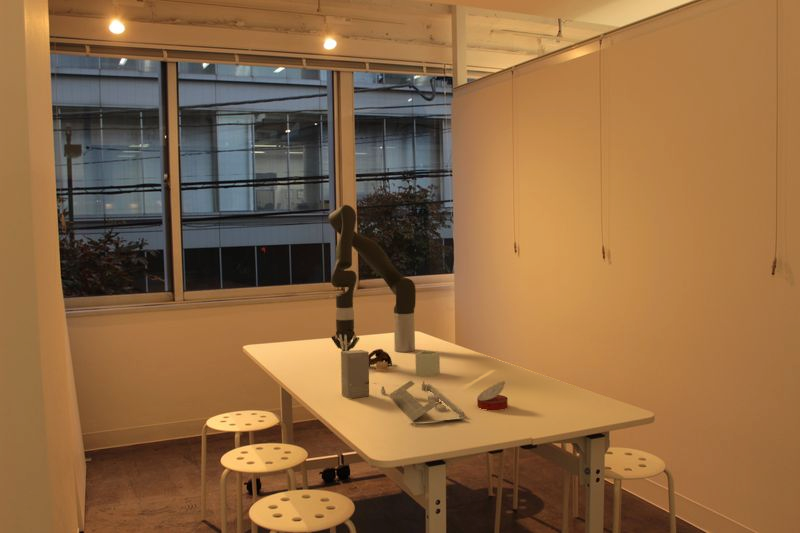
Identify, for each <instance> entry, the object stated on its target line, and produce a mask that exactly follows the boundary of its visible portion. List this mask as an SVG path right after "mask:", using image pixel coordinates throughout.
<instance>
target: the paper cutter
mask: <svg viewBox="0 0 800 533" xmlns="http://www.w3.org/2000/svg"><path fill="white" fill-rule="evenodd" d="M415 384H416V383H415V382H414V381H412V380H409V381H407V382H406V383H404V384H403V385H401V386H400V387H398V388H397V389H395V390H394V391H393V392H391V393H389V394H388V396H389V397H390V398H391V399H392V400H393V402H395V403H396V405H398V407H399V408H400V409H401V410H402V411H403V412H404V413H405V414H406V416H408V417H409V418H410V419H411V421H412V422H414V424H431V423H432V424H433V423H438V422H446V421H445V420H446V419H442V420H428V421H417V419H418V418H420V417H422V416H424V415H425V414H427V413H428V412H429V411H431V410H432V409H434V410H435V411H437V412H438V411H441V412H447V408H446V406H444V405H442V404H439V403H440V402H439V399H440V400H441V401H443V402H444V403H445V404H446V405H447V406H449V407H450V408H451V409H452V411H453V413H455V412H456V413H457V414H458V415H459V417H458V418H459V419H458V418H453V419H450V421H455V420H457V419H458V420H464V419H466V416H465V410H462V408H460V407H459V406H458V405H456V404H455V403H454V402H453V401H452V400H450V399H449V398H447V397H446V396H445V395H444V394H442V393H441V392H440V391H439V390H438V389H437V388H435V387H434V386H433V385H431V384H430V383H429V384H428V383H425V381H422V383H421V391H422V390H425V391H424V392H426V391H430V392H432V393H433V394H434V395H430V394H428V395H427V402H428V401H429V402H428V403H426V404H425V405H423V404H422V403H420V402H419V401H418V400H417V399H416V398H415V397H414V396H413V395H412V394H411V393H410V392H409V391H408V389H410V388H411V387H413V386H414V385H415ZM381 393H382V394H385V395H386V389H385V386H383V385H382V386H381V389H380V394H381ZM382 394H381V395H382ZM436 402H439V403H436ZM456 413H455V414H456ZM457 414H456V415H457ZM458 415H457V416H458ZM415 421H417V422H415Z"/></svg>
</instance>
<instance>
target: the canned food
mask: <svg viewBox="0 0 800 533" xmlns="http://www.w3.org/2000/svg"><path fill="white" fill-rule="evenodd" d="M505 384H506V382H505V381H500V382H499V381H498V382H497V383H496V384H494V385H491V386H490V387H488V388H486V389H484V390H483V391H482V392H480V393H479V395H478V396H477V398H476V399H477V400H476V401H477V402H476V403H477V406H478V407H479V408H481V409H480V410H482V409H487V410H486V411H488V410H498V411H500V410H499V409H504V410H506V409H508V408H507V407H509V405H508V404H509V403H508V397H507V396H505V395H502V394H501V393H502V391H503V389H504V388H505ZM478 407H477V408H478ZM479 408H478V409H479ZM505 408H506V409H505Z"/></svg>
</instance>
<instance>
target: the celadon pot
mask: <svg viewBox="0 0 800 533" xmlns="http://www.w3.org/2000/svg"><path fill="white" fill-rule="evenodd" d="M440 354H441V352H440V351H433V350H432V351H431V350H422V351H419V352H417V353H415V356H414V357H415V376H423V377H424V376H425V377H434V376H436V375H439V374H440V373H441V366H440V364H441V362H440V358H441V357H440V356H441V355H440Z"/></svg>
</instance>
